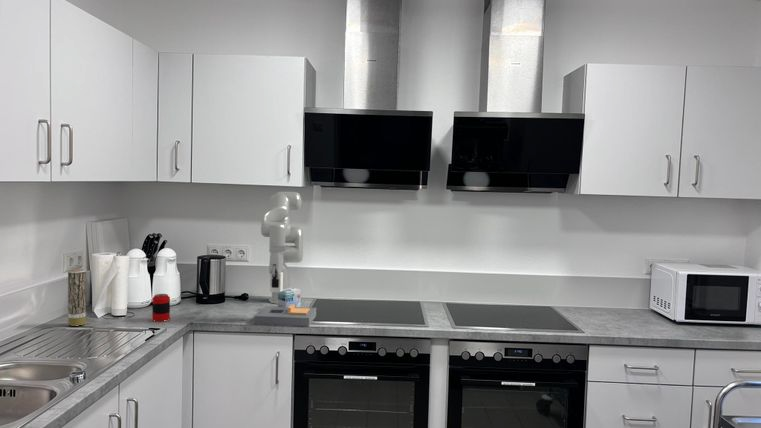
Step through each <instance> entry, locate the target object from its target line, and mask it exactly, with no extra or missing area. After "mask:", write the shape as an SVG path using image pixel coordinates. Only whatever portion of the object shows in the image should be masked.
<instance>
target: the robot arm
mask: <svg viewBox="0 0 761 428" xmlns="http://www.w3.org/2000/svg"><path fill="white" fill-rule="evenodd" d="M302 203H303V202H302V196H301V195H300V193H299V192H296V191H278V192H275V193H274V194H273V195H271V196H270V198H269V205H270V208H271V209H270V210H269V211H267V212H266V213H265V214H264V215H263V217H262V220H261V222H260V223H261V225H260V234H261V236H262V237H264V238H269V242H268V243H269V250H268V251H269V253H270V254H269V265H268V273H269V274H270V273H272V288H278V287H279V279H278V273H280V272H283V289H289V288H290V274H291V273H290V271H291V270H290V268H289V267H288V265H287V263H290V264H292V263H295V264H297V263H301V262H302V261H303V257H304V232H303V229H302V227H300V226H291V218H290V215H289V212H290V211H299V210H301V207H302ZM286 244H294V245H286ZM275 272H277V273H275ZM276 274H277V276H276ZM268 302H269V303H271V304H276V305H278V292H271V298H269V299H268Z"/></svg>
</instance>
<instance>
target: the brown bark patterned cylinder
mask: <svg viewBox="0 0 761 428" xmlns="http://www.w3.org/2000/svg"><path fill="white" fill-rule="evenodd" d="M86 274H87V273H86V269H84V268H77V269H75V268H74V269H69V270H67V298H68V299H67V309H68V310H67V313H68V314H67V317H68V318H67V319H68V320H67V322H68V323H67V324H68V326H69V325H71V326H76V325H82V324H85V323H87V321H86V320H87V317H86V316H87V310H86V309H87V307H86V306H87V303H86V301H87V300H86V299H87V298H86V295H87V294H86V291H87V289H86V287H87V285H86V281H87V280H86V279H87V278H86ZM85 325H86V324H85Z"/></svg>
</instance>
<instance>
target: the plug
mask: <svg viewBox="0 0 761 428" xmlns="http://www.w3.org/2000/svg"><path fill="white" fill-rule="evenodd" d="M275 273H277V272H275ZM269 274H270V276H269V277H270V279H269V283H270V284H269V287H270V288H269V292H270V293H272V292H281V291H282V290H283V272H280V273H278V279H279V287H278V288H272V273H269ZM276 276H277V274H276Z"/></svg>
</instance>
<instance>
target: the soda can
mask: <svg viewBox="0 0 761 428" xmlns="http://www.w3.org/2000/svg"><path fill="white" fill-rule="evenodd" d="M170 308H171V297H170V296H169V295H168V293H167V294H166V293H158V294H154V295H153V297H152V309H151V310H152V316H151V317H152V319H153V320H155V321H164V320H168V319H169V320H170V316H171V315H170V314H171V311H170V310H171V309H170ZM153 320H152V321H153ZM169 320H168V321H169Z"/></svg>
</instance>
